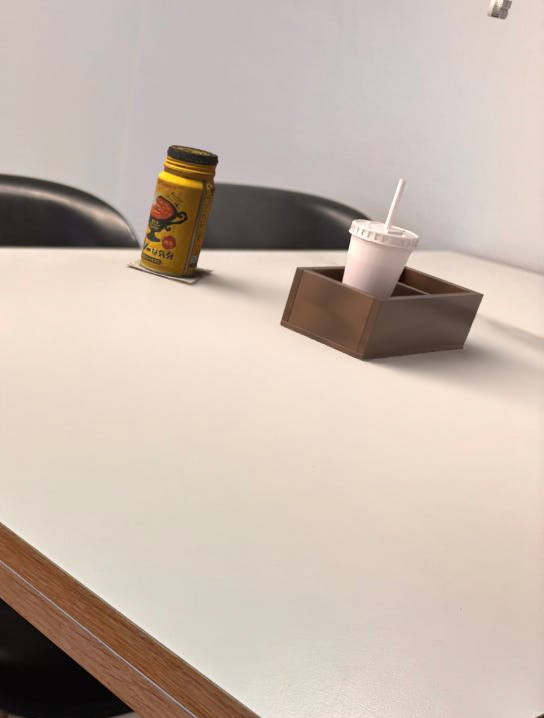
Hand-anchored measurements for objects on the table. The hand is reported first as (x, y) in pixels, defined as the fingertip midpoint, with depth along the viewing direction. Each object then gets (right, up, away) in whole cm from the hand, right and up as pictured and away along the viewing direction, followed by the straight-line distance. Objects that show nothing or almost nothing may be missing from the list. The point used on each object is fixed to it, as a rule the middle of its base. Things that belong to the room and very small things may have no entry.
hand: (535, 25), depth 112 cm
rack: (-18, -34, -5) cm, 39 cm away
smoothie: (-22, -35, -8) cm, 42 cm away
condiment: (-38, -25, +3) cm, 45 cm away
